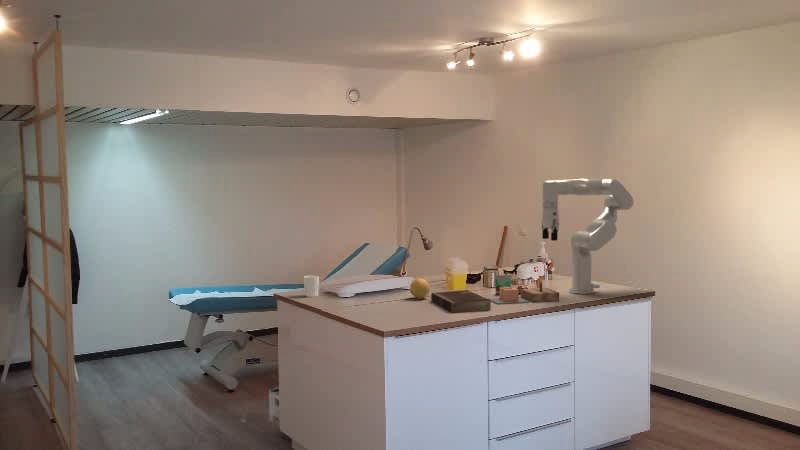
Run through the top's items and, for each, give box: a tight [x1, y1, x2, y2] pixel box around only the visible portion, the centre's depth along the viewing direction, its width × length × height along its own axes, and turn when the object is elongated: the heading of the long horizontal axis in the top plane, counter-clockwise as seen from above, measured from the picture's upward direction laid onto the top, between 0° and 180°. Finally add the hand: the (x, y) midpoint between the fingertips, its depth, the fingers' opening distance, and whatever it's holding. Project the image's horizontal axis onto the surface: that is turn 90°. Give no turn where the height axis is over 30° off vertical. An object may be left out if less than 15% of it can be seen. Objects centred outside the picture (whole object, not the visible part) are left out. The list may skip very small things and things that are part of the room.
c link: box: [498, 286, 520, 302], centre depth 350 cm, size 7×7×6 cm
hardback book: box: [430, 289, 492, 314], centre depth 340 cm, size 29×19×5 cm, turn 16°
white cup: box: [303, 274, 320, 298], centre depth 368 cm, size 8×8×10 cm
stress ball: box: [409, 277, 431, 300], centre depth 359 cm, size 10×10×10 cm
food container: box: [494, 272, 513, 295], centre depth 371 cm, size 12×6×10 cm, turn 143°
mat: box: [487, 296, 530, 305], centre depth 350 cm, size 16×13×1 cm
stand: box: [520, 281, 560, 303], centre depth 355 cm, size 14×14×8 cm
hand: (549, 239), depth 363 cm, fingers open, 9 cm apart
